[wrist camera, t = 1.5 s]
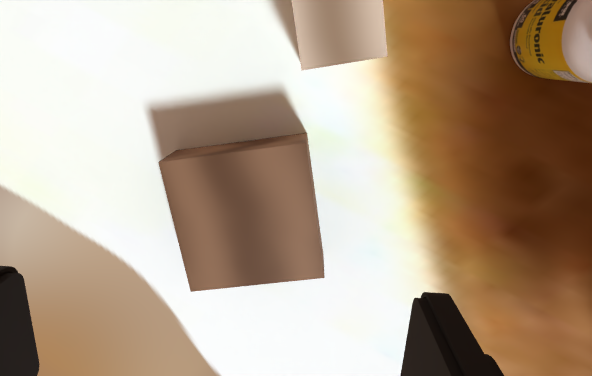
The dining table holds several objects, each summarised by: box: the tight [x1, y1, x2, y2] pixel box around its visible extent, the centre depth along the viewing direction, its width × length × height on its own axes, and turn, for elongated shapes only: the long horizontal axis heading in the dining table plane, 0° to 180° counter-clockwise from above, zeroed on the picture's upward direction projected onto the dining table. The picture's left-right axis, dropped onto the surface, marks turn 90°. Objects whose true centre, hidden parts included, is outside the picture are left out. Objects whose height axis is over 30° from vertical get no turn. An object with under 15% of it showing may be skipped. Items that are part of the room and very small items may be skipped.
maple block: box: [291, 0, 387, 70], centre depth 25 cm, size 5×5×5 cm
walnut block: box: [159, 133, 324, 291], centre depth 30 cm, size 10×10×4 cm
